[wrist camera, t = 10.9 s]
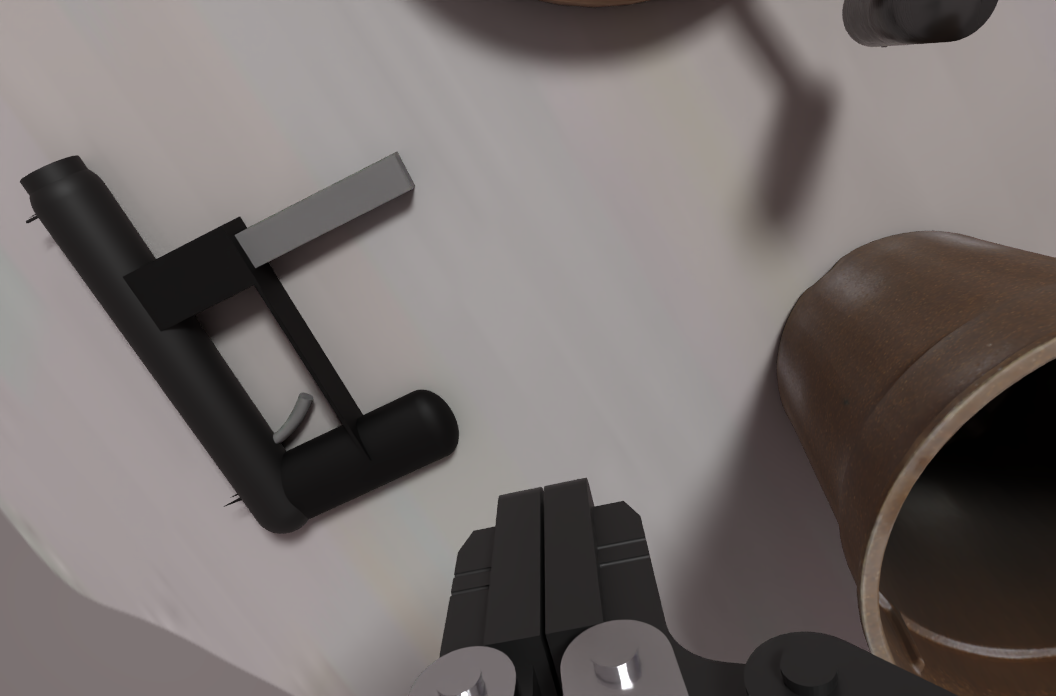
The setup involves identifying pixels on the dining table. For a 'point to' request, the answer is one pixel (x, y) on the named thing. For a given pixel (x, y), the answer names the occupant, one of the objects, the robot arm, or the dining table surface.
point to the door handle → (199, 369)
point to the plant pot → (938, 450)
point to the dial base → (594, 2)
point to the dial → (913, 20)
